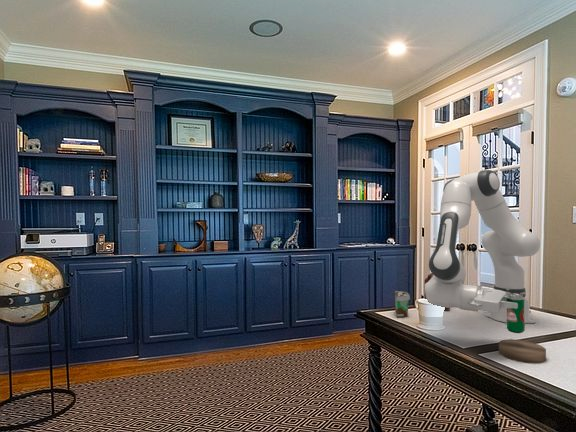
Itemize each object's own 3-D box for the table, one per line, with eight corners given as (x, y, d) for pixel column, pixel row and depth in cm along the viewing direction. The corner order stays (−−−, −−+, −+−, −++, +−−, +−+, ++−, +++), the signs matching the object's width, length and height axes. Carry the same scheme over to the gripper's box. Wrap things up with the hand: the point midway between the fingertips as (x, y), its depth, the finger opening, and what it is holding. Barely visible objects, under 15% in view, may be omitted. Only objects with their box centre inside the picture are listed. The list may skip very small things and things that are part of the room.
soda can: (503, 329, 125) (502, 293, 125) (516, 327, 126) (516, 292, 125) (514, 334, 120) (514, 297, 120) (528, 333, 121) (528, 296, 120)
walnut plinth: (501, 345, 131) (501, 336, 131) (546, 353, 123) (546, 344, 123) (496, 357, 120) (496, 347, 120) (545, 366, 113) (545, 356, 112)
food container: (411, 319, 164) (411, 296, 164) (397, 318, 165) (397, 296, 165) (408, 312, 176) (408, 291, 176) (395, 311, 177) (395, 290, 177)
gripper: (466, 294, 122) (515, 300, 114) (478, 284, 138) (521, 288, 130) (466, 313, 122) (515, 320, 114) (478, 301, 138) (521, 306, 130)
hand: (519, 303), depth 122 cm, fingers closed on soda can, 5 cm apart
